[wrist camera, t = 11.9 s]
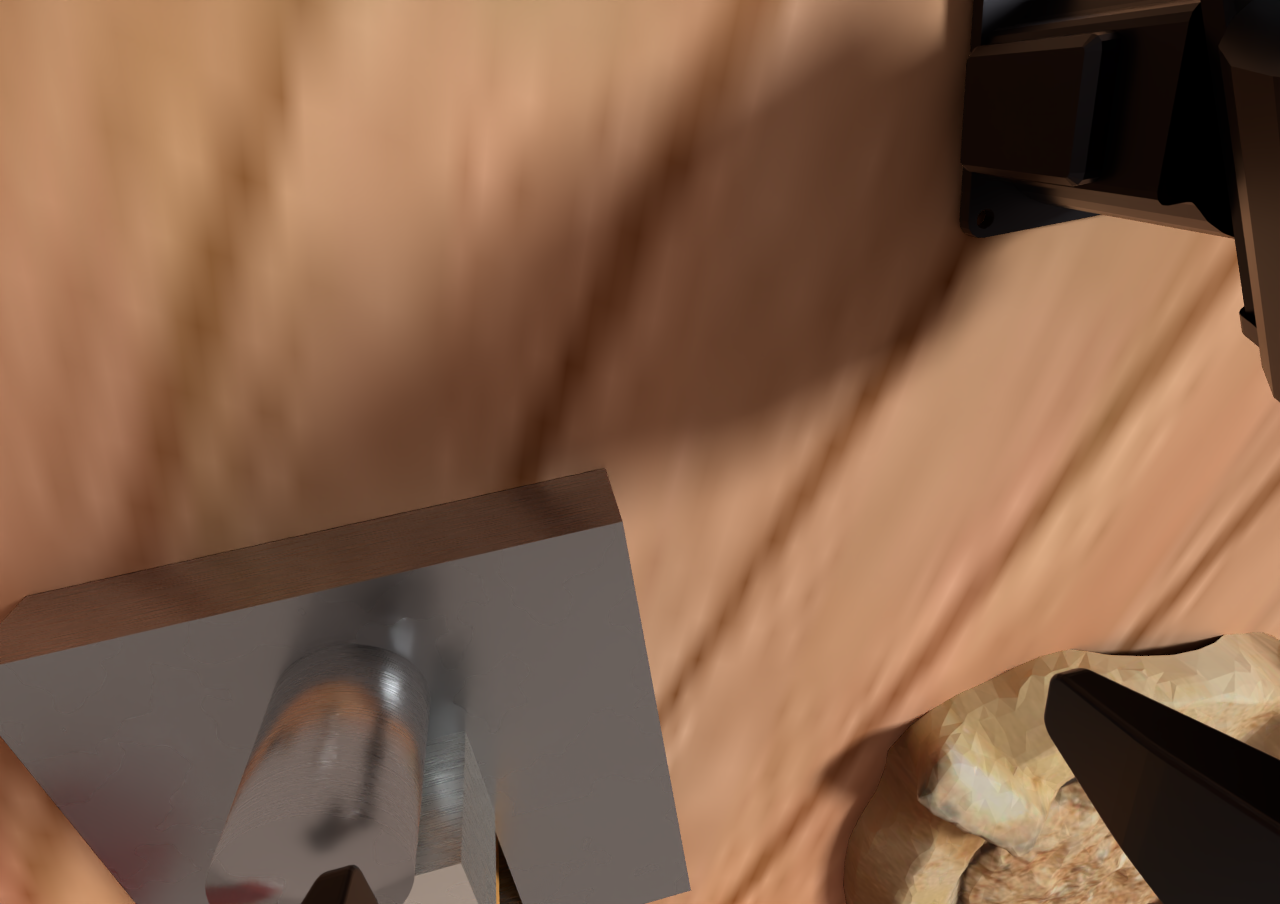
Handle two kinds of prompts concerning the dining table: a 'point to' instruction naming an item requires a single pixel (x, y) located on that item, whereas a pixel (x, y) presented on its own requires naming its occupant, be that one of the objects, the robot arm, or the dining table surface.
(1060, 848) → the ashtray
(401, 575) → the grey slotted base plate
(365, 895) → the robot arm
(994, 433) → the dining table surface
